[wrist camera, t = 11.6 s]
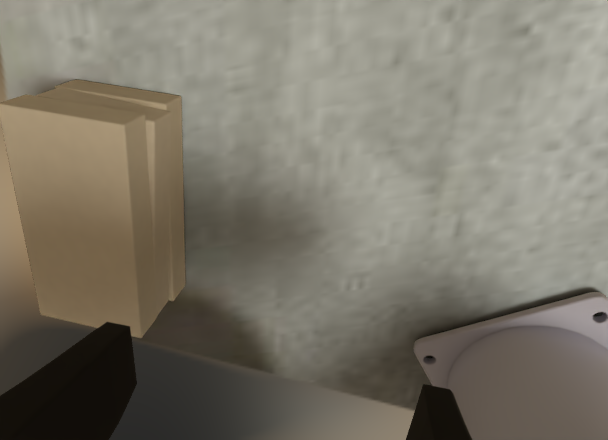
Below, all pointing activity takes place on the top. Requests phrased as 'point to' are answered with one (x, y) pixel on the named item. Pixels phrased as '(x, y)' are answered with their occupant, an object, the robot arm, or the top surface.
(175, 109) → the beige flat block
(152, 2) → the top surface
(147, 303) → the beige flat slab
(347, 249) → the top surface
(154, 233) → the beige book
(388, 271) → the top surface
